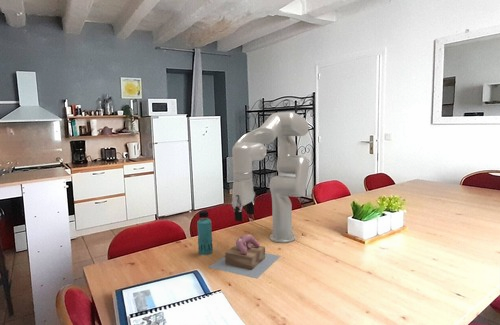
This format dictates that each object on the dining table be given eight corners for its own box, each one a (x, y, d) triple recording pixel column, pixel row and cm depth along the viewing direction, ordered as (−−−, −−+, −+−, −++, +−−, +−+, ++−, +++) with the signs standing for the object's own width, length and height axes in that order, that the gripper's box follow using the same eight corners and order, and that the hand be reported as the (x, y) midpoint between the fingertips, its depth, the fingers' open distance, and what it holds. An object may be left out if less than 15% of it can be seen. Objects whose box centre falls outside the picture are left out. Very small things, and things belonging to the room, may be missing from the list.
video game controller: (253, 249, 137) (247, 233, 138) (261, 246, 134) (254, 230, 135) (238, 257, 129) (232, 240, 130) (246, 254, 126) (239, 237, 127)
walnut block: (240, 253, 141) (240, 242, 141) (265, 258, 136) (264, 246, 135) (225, 264, 131) (225, 252, 130) (251, 270, 125) (251, 257, 125)
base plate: (236, 250, 148) (236, 247, 148) (281, 259, 138) (281, 255, 138) (208, 270, 129) (208, 267, 129) (257, 282, 119) (257, 278, 118)
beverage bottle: (199, 259, 140) (196, 214, 138) (197, 253, 147) (195, 210, 144) (214, 257, 142) (212, 212, 140) (211, 251, 148) (209, 209, 146)
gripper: (245, 171, 138) (247, 210, 141) (223, 179, 123) (225, 223, 126) (261, 172, 135) (262, 212, 137) (240, 180, 120) (242, 225, 122)
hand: (244, 217), depth 131 cm, fingers open, 9 cm apart
